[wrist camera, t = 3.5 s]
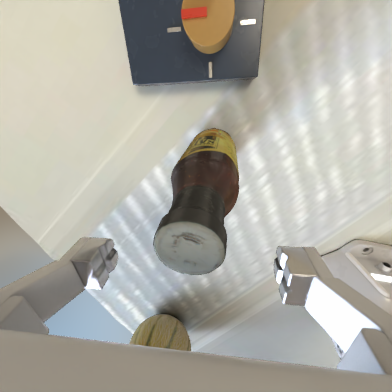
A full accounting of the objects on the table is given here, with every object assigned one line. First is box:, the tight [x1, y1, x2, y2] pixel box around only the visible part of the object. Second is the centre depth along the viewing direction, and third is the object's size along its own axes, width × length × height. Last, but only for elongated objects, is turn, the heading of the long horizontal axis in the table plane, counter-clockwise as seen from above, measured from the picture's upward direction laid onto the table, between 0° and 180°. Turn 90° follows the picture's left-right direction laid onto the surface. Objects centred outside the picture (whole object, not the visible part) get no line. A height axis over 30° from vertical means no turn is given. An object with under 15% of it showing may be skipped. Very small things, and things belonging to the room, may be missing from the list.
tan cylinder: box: [181, 0, 235, 54], centre depth 17 cm, size 4×4×4 cm
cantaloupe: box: [130, 314, 191, 351], centre depth 43 cm, size 15×15×15 cm
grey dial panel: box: [119, 0, 264, 86], centre depth 20 cm, size 14×9×3 cm, turn 92°
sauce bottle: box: [153, 128, 239, 275], centre depth 18 cm, size 6×6×20 cm
